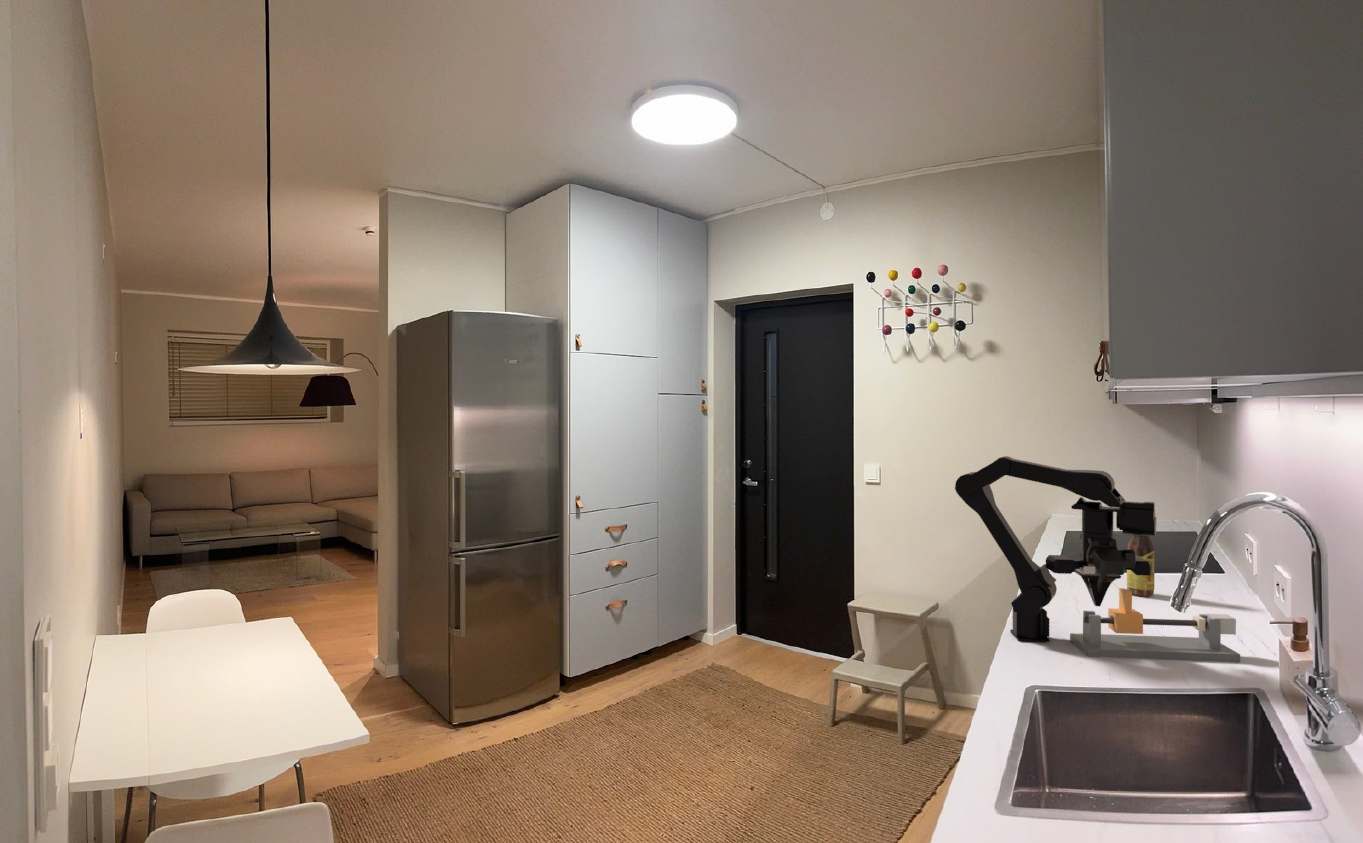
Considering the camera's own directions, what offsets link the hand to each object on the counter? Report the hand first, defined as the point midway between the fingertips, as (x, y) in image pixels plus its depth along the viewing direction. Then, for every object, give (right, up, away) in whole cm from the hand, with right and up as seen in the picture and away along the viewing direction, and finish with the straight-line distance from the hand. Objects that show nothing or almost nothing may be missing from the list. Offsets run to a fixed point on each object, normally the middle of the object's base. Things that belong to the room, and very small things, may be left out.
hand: (1097, 605), depth 153 cm
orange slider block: (+6, -5, -1) cm, 7 cm away
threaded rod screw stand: (+10, -9, -1) cm, 14 cm away
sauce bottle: (+35, -8, +42) cm, 55 cm away
